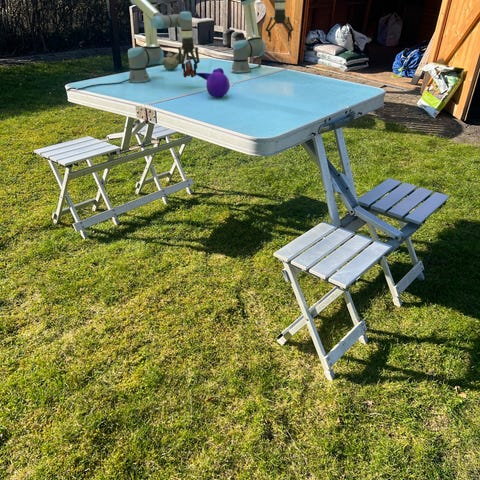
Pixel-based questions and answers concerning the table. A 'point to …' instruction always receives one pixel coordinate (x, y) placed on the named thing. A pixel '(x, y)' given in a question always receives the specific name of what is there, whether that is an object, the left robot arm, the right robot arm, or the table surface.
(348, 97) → the table surface
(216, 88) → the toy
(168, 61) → the teapot
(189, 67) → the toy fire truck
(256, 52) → the right robot arm
